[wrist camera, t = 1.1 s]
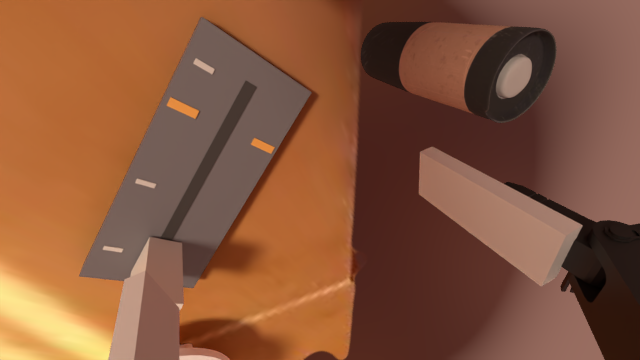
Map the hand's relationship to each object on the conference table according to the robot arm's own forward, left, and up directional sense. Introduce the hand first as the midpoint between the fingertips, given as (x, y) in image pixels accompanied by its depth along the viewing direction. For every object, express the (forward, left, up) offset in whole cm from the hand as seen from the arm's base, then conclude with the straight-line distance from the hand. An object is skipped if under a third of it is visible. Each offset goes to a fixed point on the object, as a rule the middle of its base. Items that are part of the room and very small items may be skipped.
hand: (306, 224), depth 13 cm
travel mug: (+15, +16, -26) cm, 34 cm away
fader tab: (+1, -23, -23) cm, 33 cm away
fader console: (+1, -11, -26) cm, 28 cm away
